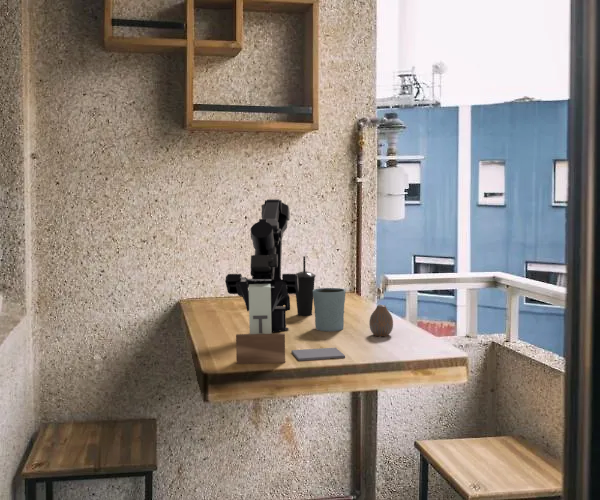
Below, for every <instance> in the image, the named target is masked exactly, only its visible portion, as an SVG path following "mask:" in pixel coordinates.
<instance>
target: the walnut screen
mask: <svg viewBox="0 0 600 500" xmlns="http://www.w3.org/2000/svg"><path fill="white" fill-rule="evenodd" d="M235 346H236V349H235V350H236V351H235V352H236V353H235V354H236V356H235V357H236V364H240V365H241V364H275V363H276V364H278V363H286V334H285V332H284V333H280V332H279V333H278V332H277V333H272V334H250V333H244V334H243V333H242V334H241V333H240V334H238V333H237V334H235Z"/></svg>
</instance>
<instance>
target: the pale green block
mask: <svg viewBox="0 0 600 500" xmlns="http://www.w3.org/2000/svg"><path fill="white" fill-rule="evenodd" d="M248 290H249V311H248V313H249V314H248V317H249V318H248V321H249V334H273V332H272V329H271V285H270V284H249V287H248Z"/></svg>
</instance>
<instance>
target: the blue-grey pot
mask: <svg viewBox="0 0 600 500" xmlns="http://www.w3.org/2000/svg"><path fill="white" fill-rule="evenodd" d="M345 302H346V289H345V288H338V287H337V288H336V287H321V288H314V290H313V306H314V325H315V330H316V331H320V332H339V331H343V330H344V327H345V326H344V324H345V320H344V317H345V315H344V314H345Z"/></svg>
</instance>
